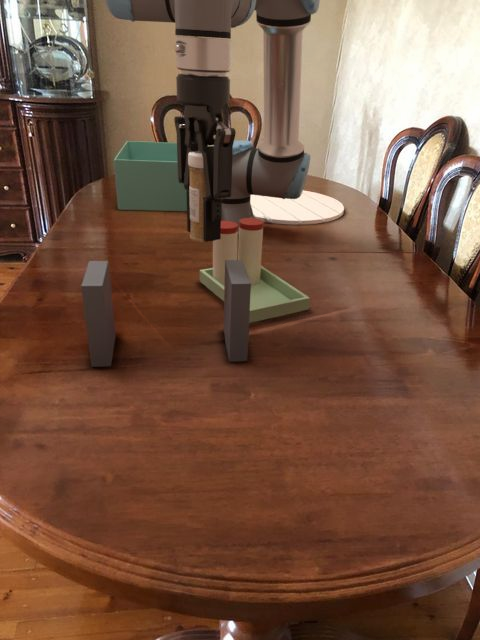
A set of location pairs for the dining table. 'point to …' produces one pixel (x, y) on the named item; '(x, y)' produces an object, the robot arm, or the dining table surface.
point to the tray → (264, 295)
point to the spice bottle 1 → (224, 249)
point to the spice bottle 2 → (251, 247)
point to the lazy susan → (297, 209)
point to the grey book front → (99, 313)
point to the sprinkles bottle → (197, 195)
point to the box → (149, 177)
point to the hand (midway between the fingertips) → (203, 234)
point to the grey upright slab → (236, 310)
